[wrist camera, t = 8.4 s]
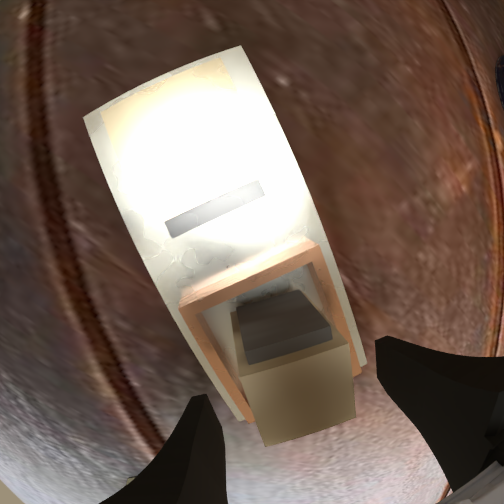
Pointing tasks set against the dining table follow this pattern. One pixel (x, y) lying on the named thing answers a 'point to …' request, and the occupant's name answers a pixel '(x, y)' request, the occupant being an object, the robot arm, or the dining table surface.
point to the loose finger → (292, 367)
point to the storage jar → (500, 78)
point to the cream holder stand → (217, 207)
